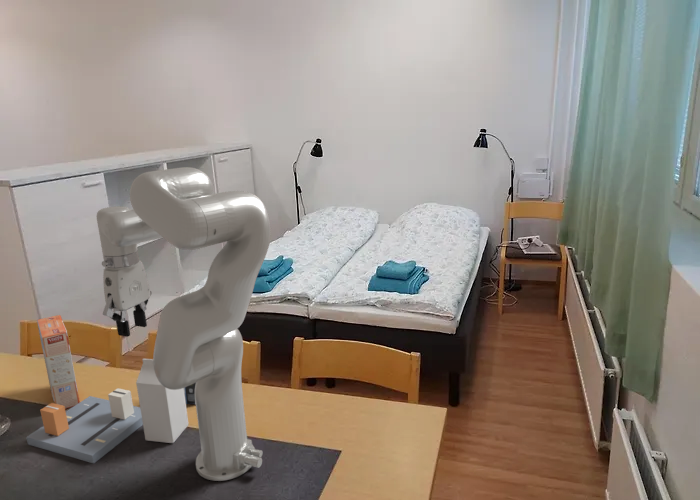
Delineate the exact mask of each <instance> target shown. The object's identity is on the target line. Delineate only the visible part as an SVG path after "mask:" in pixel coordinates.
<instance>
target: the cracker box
mask: <svg viewBox="0 0 700 500" xmlns="http://www.w3.org/2000/svg"><path fill="white" fill-rule="evenodd" d="M36 322H37V328H38V333H39V338H40V343H41V349H42V352H43V360H44V363H45V368H46V375H47V378H48V384H49V388H50V393H51V397H52V400H53V403H54V404H59V405H63V406H65V410H67V409H71V408H72V407H74V406H75V405H77V404H78V403H80V402H81V401H80V396H79V392H78V391H79V390H78V386H77V381H76V379H77V378H76V373H75V370H74V364H73V359H72V353H71V347H70V342H69V341H70V340H69V336H68V330H67V328H66V326H65V323H64V321H63V318H62V315H60V314H59V315H58V314H57V315H53V316H49V317H43V318H40V319H37V320H36Z"/></svg>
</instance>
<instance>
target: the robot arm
mask: <svg viewBox="0 0 700 500" xmlns="http://www.w3.org/2000/svg"><path fill="white" fill-rule="evenodd" d="M213 192H214V187H213V182H212V180H211V178H210V177H209V176H208V174H207V173H205V172H204V171H202V170H200V169H198V168H195V167H190V166H188V167H187V166H185V167H175V168H174V167H173V168H169V169H160V170H153V171H152V170H151V171H146V172H143V173H141V174H139V175H138V176H136V177H135V178H134V180H133V181H132V183H131V185H130V189H129V200H130V204H131V207H132V209H130V208H129V207H128V206H123V205H122V206H118V205H116V206H108V207H104V208H101V209H98V211H97V212H96V222H97V229H98V234H99V241H100V246H101V252H102V258H103V261H101V265H102V267H103V268H104V269H103V275H102V276H103V277H102V278H103V283H102V284H103V293H104V300H105V306H104V308H103V311H102V315H103V316H105V317H107V318H110V319H111V320H113V321H114V322H116V323H115V324H116V329H117V335H118V336H122V337H127V338H128V337H130V336H131V332H130V331H131V329H130V325H129V321H128V320H126V319H127V318H126V317H127V310H129V309H132V308H133V309H134V310H133V311H132V313H133V314H132V315H133V321H134V326H135V327H139V328H141V327H142V328H146V327H147V326H148V324H147V316H146V311H147V305H148V303H149V299H150V297H151V295H152V291H151V290H150V285H149V284H150V283H149V279H148V276H147V271H146V269H145V266H144V263H143V262H142V260H140V258H139V251H138V244H140V243H145V242H149V241H154V240H158V239H162V238H163V239H164V240H166V242H168V243H169V244H171V246H173V247H175V248H177V249H179V250H182V251H195V250H200V249H203V248H204V249H205V248H207V247H211V246H215V245H218V244H222V243H225V244H224V246H223V247H222V248H221V249H220V250H219V252H218V253H217V254H216V256H215V257H214V259H213V260H212V262H211V264H210V266H209V269H208V274H207V278H206V282H205V284H204V285H203V286H202V287H200V288H199V289H197V290H195V291H192V292H189V293H185V294H183V295H181V296H178V297H176V298H173V299H172V300H170V301H169V302H168V303H166V305H165V306H164V307H163V308H162V311H161V313H160V315H159V320H158V325H157V331H156V337H155V342H154V347H153V355H152V359H153V366H154V371H155V374H156V377H157V379H158V381H159V382H160V383H161V384H162V385H163V386H164V387H166V388H168V389H171V390H178V389H182V388H185V387H187V386H189V385H192V384H194V383H196V385H195V403H196V404H195V409H196V410H195V411H196V417H197V426H198V432H199V440H200V448H201V451H200V452H199V453H198V455H197V456H196V458H195V469H196V473H197V474H198V475H199V476H200V477H202V478H204V479H206V480H208V481H209V480H210V481H213V482H214V481H216V482H217V481H218V482H221V481H228V480H232V479H236V478H238V477H240V476H242V475H244V474H245V473H247V472H248V471H249V470H250V469H251V468H252V467H254V468H259V469H260V467H261V466H262V464H263V459H262V456H263V450H261V449H256V448H255V446H254V445H253V440H252V439H249V438H248V435H247V425H246V424H247V423H246V415H245V405H244V404H245V403H244V393H243V383H242V364H243V362H242V361H243V356H244V342H243V336H242V334H241V332H240V330H239V328H240V326H241V325H242V324H243V322H244V320H245V319H246V315H247V312H248V309H249V306H250V301H251V299H252V295H253V292H254V289H255V285H256V280H257V278H258V275H259V273H260V270H261V268H262V265H263V263H264V261H265V258H266V256H267V253H268V250H269V247H270V242H271V237H272V235H271V234H272V233H271V232H272V230H271V229H272V228H271V221H270V216H269V212H268V209H267V207H266V205H265V203H264V202H263V201H262V200H261V198H259V197H258V196H257V195H255V194H254V193H252V192H249V191H244V190H231V191H223V192H217V193H213ZM119 313H120V314H119Z"/></svg>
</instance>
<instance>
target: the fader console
mask: <svg viewBox="0 0 700 500" xmlns="http://www.w3.org/2000/svg"><path fill="white" fill-rule="evenodd" d="M133 409H134V413H133V414H132V415H131V416H129V417H128V418H127V419H125V420H124V419H120V418H116V417H112V414H111V408H110V402H109V399H106V398H101V397H95V396H92V395H89V396H88V397H86V398H85V399H83V400H81V401H80V403H78V404H77V405H75V406H73V407H70V408H68V410H67V409H66V410H65V411H66V416H67V421H68V426H69V429H68V430H66V431H65V432H63V433H62V434H60V435H59V436H56V435H52V434H48V433H45V429H44V425H43V426H40V427H39V428H38V429H36V430H35V431H33V432H32V433H29V435H27V436H26V438H25V439H26V442H27V445H28V446H32V447H36V448H39V449H43V450H46V451H50V452H53V453H57V454H60V455H63V456H67V457H70V458H72V459H73V458H74V459H78V460H81V461H84V462H88V463H90V464H96V462H98V461H99V460H100V459H101V458H103V457H104V456H106V454H108V453H109V452H110V451H112V450H113V449H114V448H116V446H118V445H119V444H120V443H121V442H123V441H124V440H125V439H127V438H128V437H129V436H131V435H132V434H133V433H134V432H135V431H137V430H138V429H139V428H141V427H142V426H143V422H142V415H141V409H140V406H137V405H135V406H134V405H133Z"/></svg>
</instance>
